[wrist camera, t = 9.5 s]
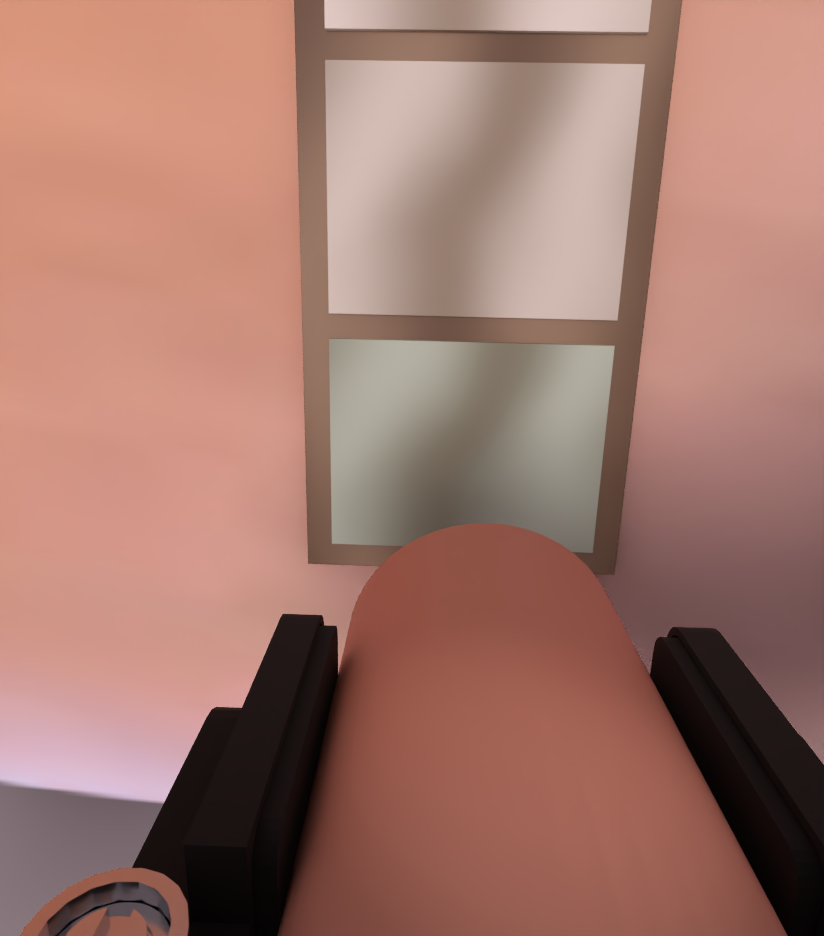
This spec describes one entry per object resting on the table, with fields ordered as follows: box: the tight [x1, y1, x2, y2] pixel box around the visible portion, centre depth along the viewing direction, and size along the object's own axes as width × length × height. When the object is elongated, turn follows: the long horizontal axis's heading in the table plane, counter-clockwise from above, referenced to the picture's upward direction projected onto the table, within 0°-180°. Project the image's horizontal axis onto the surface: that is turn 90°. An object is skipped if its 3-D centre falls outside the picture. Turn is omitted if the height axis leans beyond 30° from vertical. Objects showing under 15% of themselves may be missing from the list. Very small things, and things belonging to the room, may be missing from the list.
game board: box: [294, 0, 682, 575], centre depth 21 cm, size 11×25×1 cm, turn 179°
